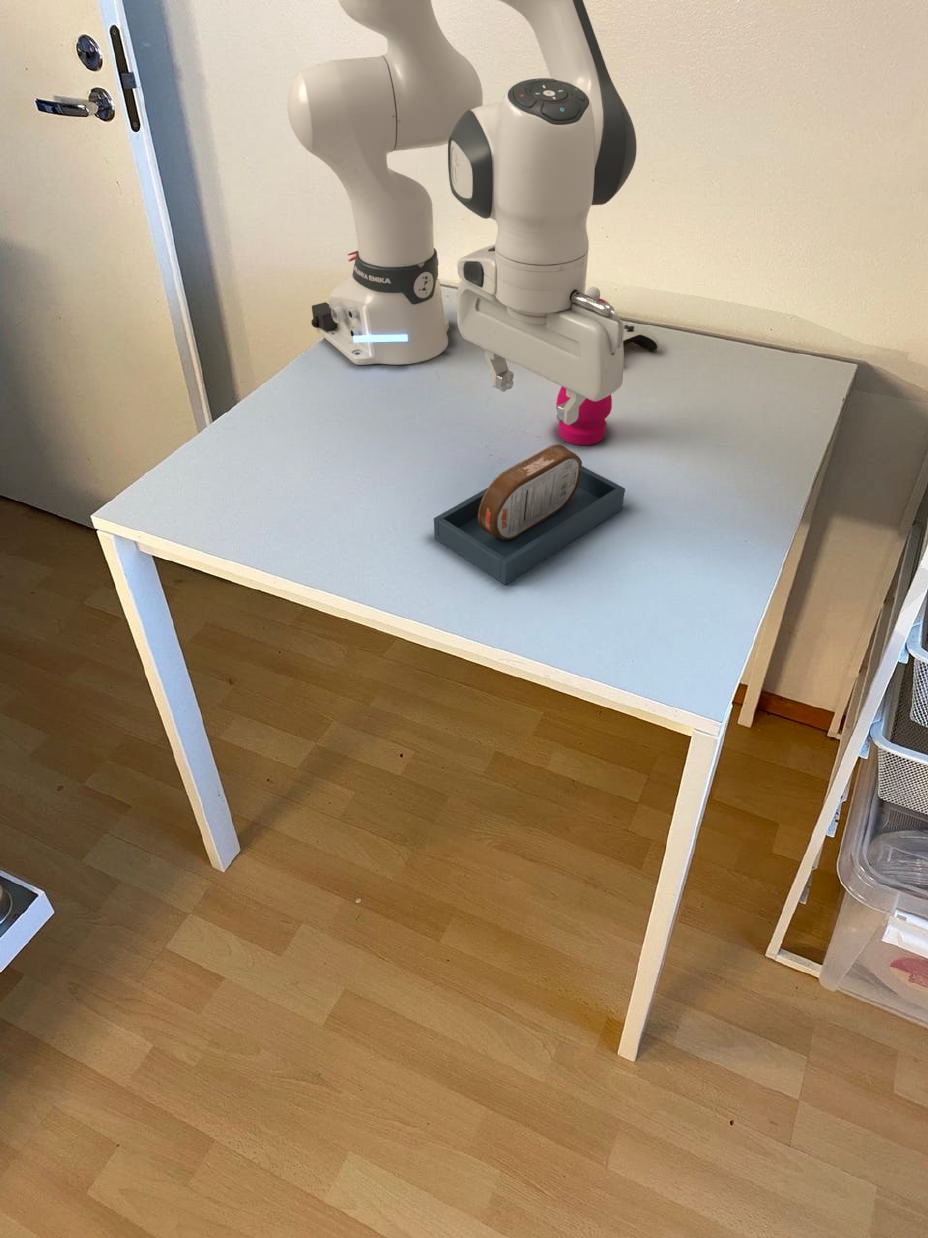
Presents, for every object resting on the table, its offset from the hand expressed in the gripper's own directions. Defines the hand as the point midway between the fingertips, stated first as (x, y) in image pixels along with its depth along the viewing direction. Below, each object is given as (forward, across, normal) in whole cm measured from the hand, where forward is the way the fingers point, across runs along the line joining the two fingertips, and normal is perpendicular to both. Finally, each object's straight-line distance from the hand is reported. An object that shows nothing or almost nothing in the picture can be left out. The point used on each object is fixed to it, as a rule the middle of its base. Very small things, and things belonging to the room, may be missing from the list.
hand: (534, 403), depth 97 cm
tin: (+15, -1, 0) cm, 15 cm away
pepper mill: (+16, +8, -19) cm, 27 cm away
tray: (+16, 0, 0) cm, 16 cm away
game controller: (+16, +20, -41) cm, 49 cm away
